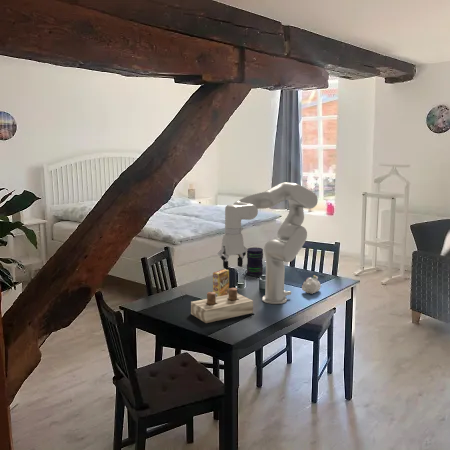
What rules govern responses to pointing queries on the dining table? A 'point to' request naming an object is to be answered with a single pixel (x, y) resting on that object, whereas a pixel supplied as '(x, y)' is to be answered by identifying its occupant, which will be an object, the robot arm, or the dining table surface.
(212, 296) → the peg
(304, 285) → the cream lumpy bulb
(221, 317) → the birch block
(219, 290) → the candy box
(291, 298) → the dining table surface
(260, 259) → the storage jar
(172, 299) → the dining table surface
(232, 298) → the peg
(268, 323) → the dining table surface
